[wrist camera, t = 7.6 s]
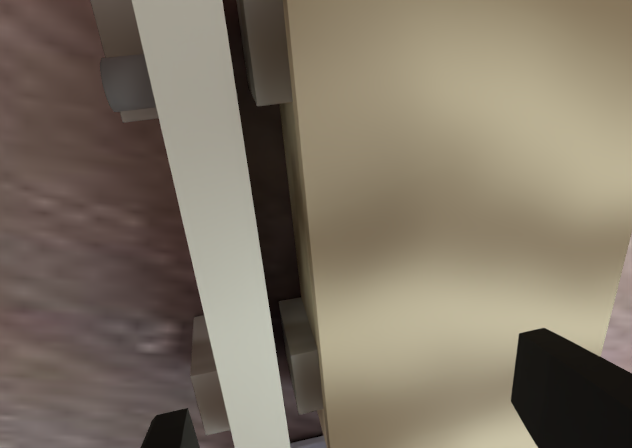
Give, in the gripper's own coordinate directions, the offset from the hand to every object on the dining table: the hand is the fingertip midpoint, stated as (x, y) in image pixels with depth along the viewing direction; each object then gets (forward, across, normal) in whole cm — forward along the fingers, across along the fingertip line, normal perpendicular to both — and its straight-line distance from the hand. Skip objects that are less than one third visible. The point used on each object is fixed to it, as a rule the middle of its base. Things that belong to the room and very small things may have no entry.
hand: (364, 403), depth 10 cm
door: (+10, +2, -1) cm, 10 cm away
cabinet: (+10, -3, -1) cm, 10 cm away
